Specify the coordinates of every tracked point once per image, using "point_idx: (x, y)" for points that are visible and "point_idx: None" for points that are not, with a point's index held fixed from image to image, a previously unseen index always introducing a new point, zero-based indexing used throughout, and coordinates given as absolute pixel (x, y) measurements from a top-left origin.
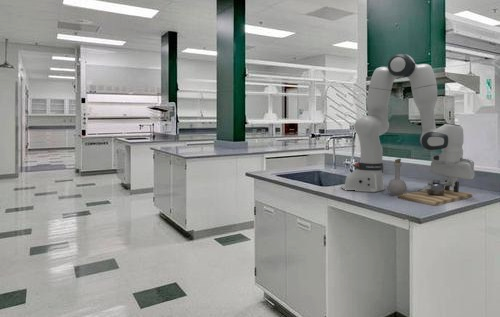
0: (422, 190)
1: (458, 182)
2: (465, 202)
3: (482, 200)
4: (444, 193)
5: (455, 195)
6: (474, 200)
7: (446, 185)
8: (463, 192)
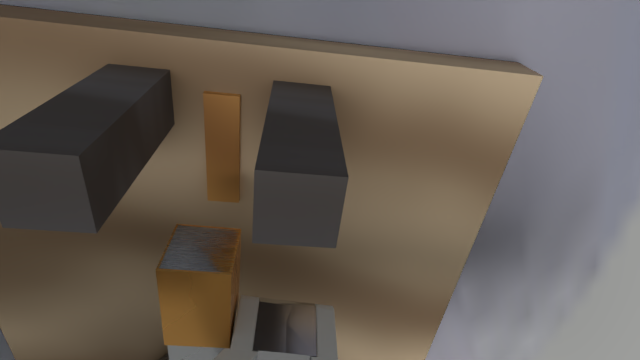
0: (12, 330)
1: (341, 190)
2: (488, 342)
3: (634, 179)
4: None
5: (386, 315)
6: (553, 235)
7: None
8: (409, 87)
